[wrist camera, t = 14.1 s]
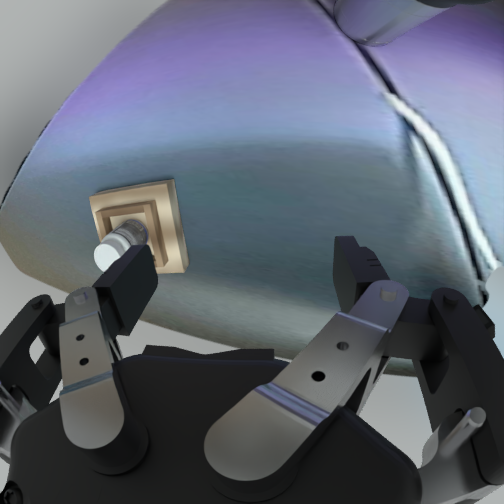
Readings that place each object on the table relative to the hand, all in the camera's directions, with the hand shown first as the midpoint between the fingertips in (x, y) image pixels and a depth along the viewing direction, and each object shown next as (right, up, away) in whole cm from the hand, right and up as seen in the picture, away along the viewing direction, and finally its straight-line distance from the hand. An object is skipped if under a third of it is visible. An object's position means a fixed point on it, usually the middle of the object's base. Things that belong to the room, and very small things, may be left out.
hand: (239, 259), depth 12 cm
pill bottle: (-16, +3, +27) cm, 32 cm away
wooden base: (-16, +4, +30) cm, 34 cm away
